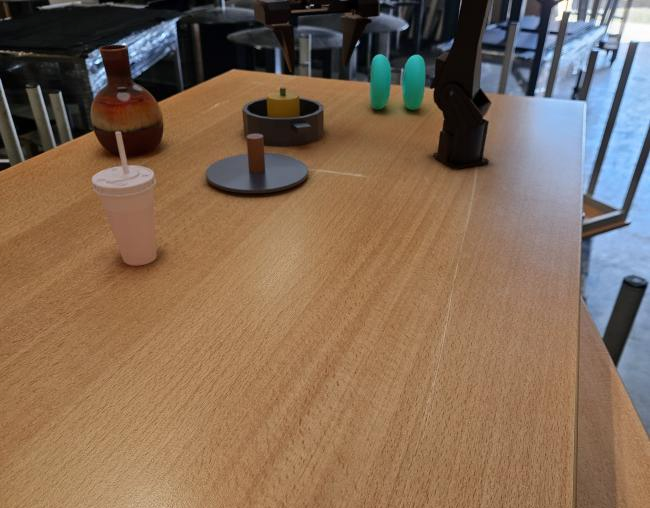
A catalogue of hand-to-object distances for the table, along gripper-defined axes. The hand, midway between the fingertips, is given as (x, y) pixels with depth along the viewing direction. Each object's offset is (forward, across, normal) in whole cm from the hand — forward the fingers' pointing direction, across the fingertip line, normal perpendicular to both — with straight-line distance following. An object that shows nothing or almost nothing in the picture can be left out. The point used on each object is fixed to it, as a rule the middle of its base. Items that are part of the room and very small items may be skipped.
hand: (318, 69), depth 92 cm
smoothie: (+12, +35, +29) cm, 47 cm away
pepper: (+11, +4, -7) cm, 13 cm away
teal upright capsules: (+12, -22, -13) cm, 28 cm away
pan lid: (+11, +15, +11) cm, 22 cm away
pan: (+12, +4, -7) cm, 14 cm away
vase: (+11, +30, -9) cm, 33 cm away
